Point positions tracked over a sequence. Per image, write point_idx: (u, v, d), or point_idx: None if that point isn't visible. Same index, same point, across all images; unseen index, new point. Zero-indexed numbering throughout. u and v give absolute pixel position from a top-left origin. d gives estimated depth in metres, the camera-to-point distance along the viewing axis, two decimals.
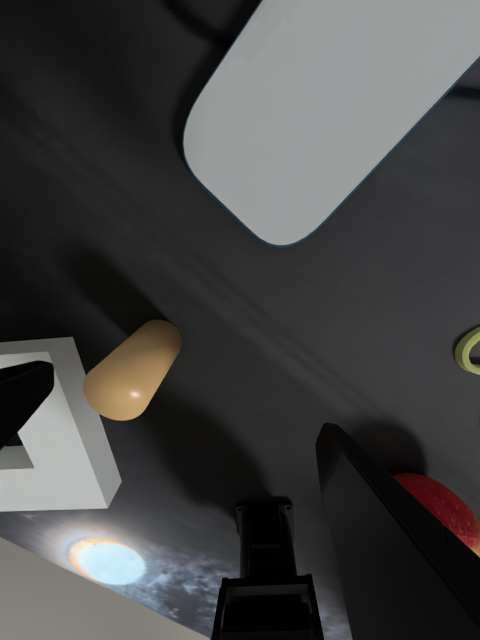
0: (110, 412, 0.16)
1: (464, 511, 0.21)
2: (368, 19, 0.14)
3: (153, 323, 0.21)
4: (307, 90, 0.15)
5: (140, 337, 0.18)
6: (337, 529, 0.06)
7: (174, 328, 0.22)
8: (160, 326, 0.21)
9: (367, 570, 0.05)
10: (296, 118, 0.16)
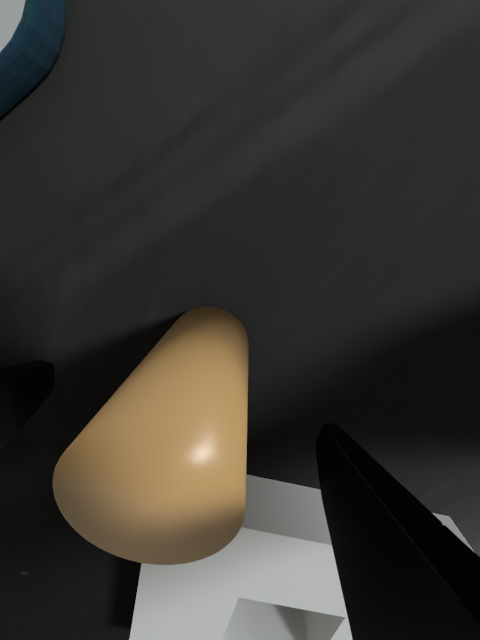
0: (206, 538, 0.05)
1: None
2: None
3: None
4: None
5: None
6: (337, 529, 0.06)
7: (190, 311, 0.12)
8: None
9: (367, 570, 0.05)
10: None
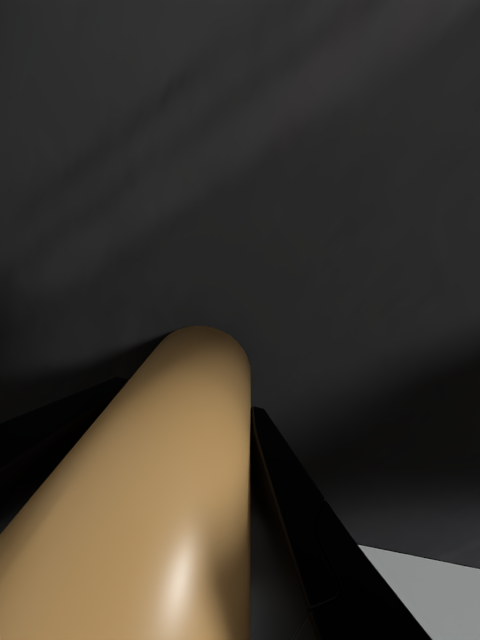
0: None
1: None
2: None
3: None
4: None
5: None
6: None
7: (176, 332, 0.09)
8: None
9: (254, 548, 0.05)
10: None
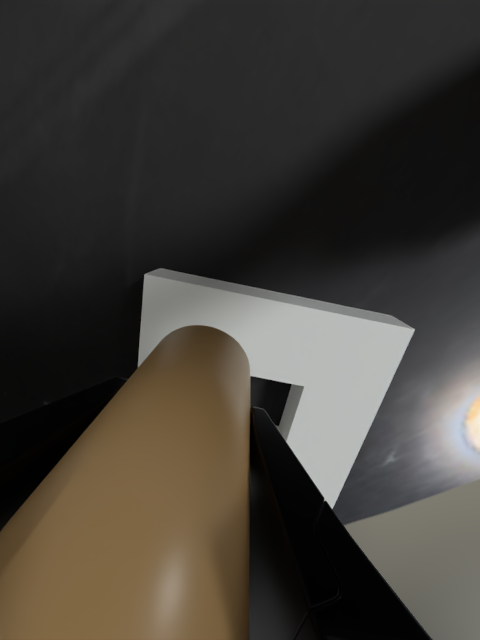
0: None
1: None
2: None
3: None
4: None
5: None
6: None
7: (176, 331, 0.09)
8: None
9: (254, 548, 0.05)
10: None
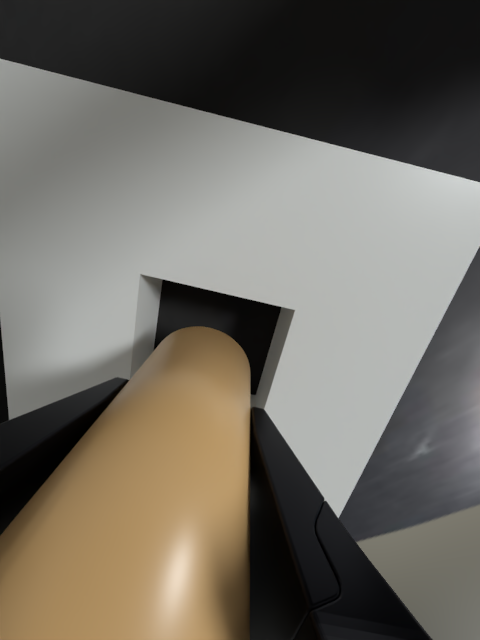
0: None
1: None
2: None
3: None
4: None
5: None
6: None
7: (176, 333, 0.09)
8: None
9: (254, 548, 0.05)
10: None
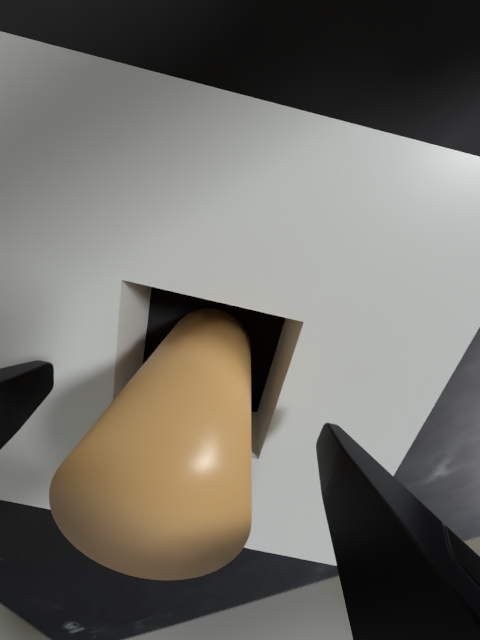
0: (210, 553, 0.05)
1: None
2: None
3: None
4: None
5: None
6: (338, 529, 0.06)
7: (191, 313, 0.12)
8: None
9: (368, 570, 0.05)
10: None
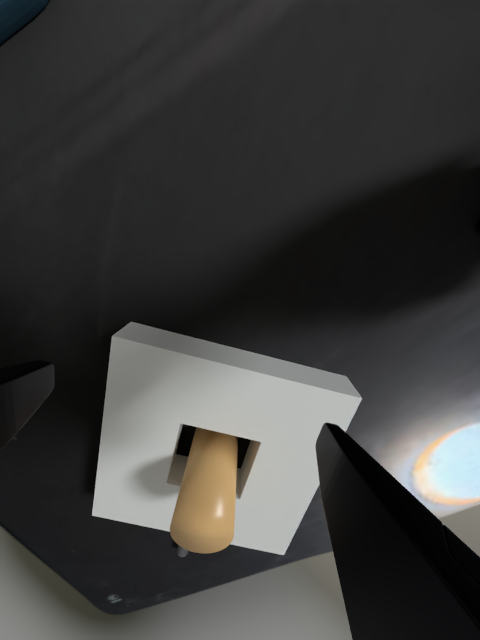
0: (220, 543, 0.16)
1: None
2: None
3: None
4: None
5: (186, 465, 0.19)
6: (337, 529, 0.06)
7: None
8: (196, 434, 0.22)
9: (367, 570, 0.05)
10: None
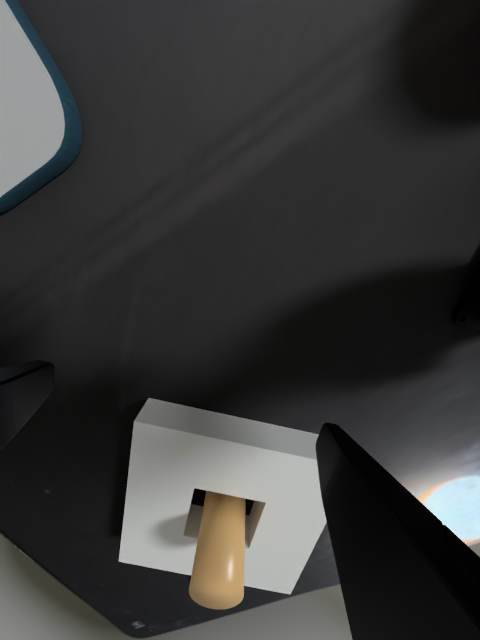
0: (232, 602, 0.19)
1: None
2: None
3: (206, 492, 0.25)
4: None
5: (200, 524, 0.22)
6: (337, 529, 0.06)
7: None
8: (208, 491, 0.24)
9: (367, 570, 0.05)
10: None
